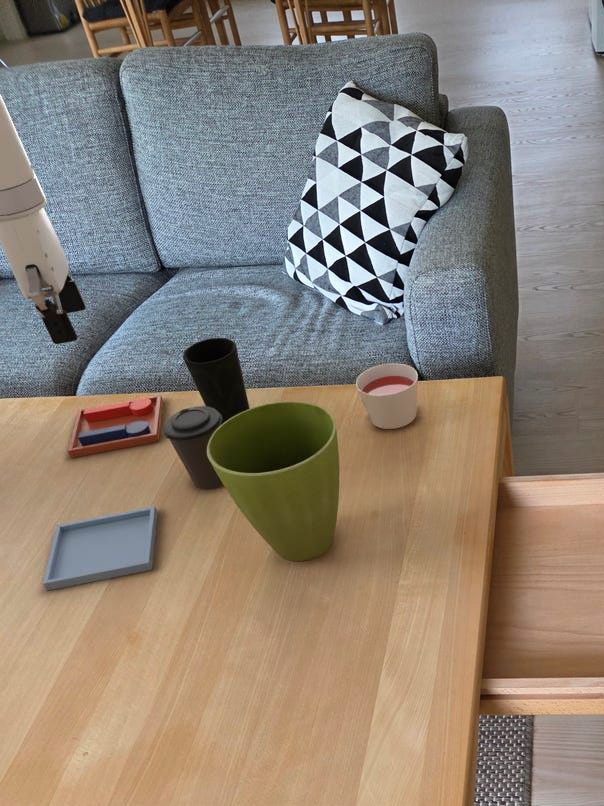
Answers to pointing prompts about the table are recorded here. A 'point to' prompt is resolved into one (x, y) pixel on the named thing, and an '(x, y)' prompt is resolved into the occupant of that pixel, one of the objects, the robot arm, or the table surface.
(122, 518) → the blue tray
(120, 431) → the blue spoon
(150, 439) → the red tray
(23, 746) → the table surface
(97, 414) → the red spoon
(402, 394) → the candle
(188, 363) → the cup
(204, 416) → the coffee cup
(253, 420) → the flower pot
